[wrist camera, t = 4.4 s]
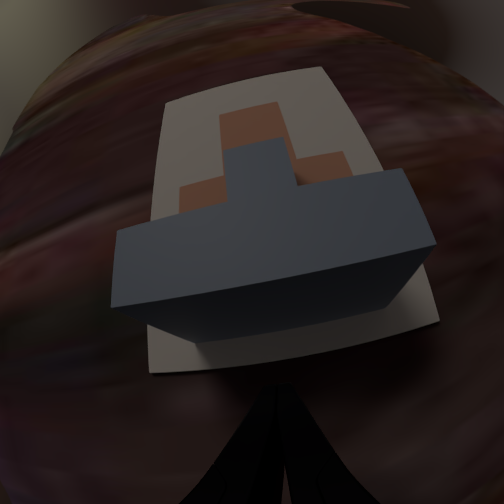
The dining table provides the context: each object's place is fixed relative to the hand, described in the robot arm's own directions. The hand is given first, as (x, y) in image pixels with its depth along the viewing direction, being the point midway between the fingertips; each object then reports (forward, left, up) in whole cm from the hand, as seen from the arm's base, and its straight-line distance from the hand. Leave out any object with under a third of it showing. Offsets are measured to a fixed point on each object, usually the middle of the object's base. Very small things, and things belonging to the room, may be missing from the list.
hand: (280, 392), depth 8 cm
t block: (+3, -11, -11) cm, 15 cm away
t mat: (+5, -18, -11) cm, 22 cm away
